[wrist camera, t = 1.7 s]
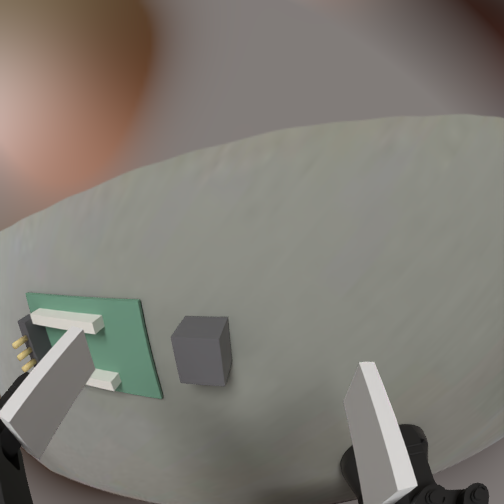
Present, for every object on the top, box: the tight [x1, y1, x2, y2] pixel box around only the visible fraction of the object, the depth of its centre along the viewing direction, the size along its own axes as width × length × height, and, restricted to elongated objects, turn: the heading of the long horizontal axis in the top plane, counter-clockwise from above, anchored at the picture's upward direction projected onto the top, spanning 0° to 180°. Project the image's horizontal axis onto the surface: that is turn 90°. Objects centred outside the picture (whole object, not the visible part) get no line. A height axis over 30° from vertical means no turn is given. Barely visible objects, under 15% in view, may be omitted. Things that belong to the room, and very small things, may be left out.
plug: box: [171, 316, 232, 386], centre depth 30 cm, size 6×5×5 cm
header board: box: [12, 292, 163, 399], centre depth 31 cm, size 15×22×8 cm
